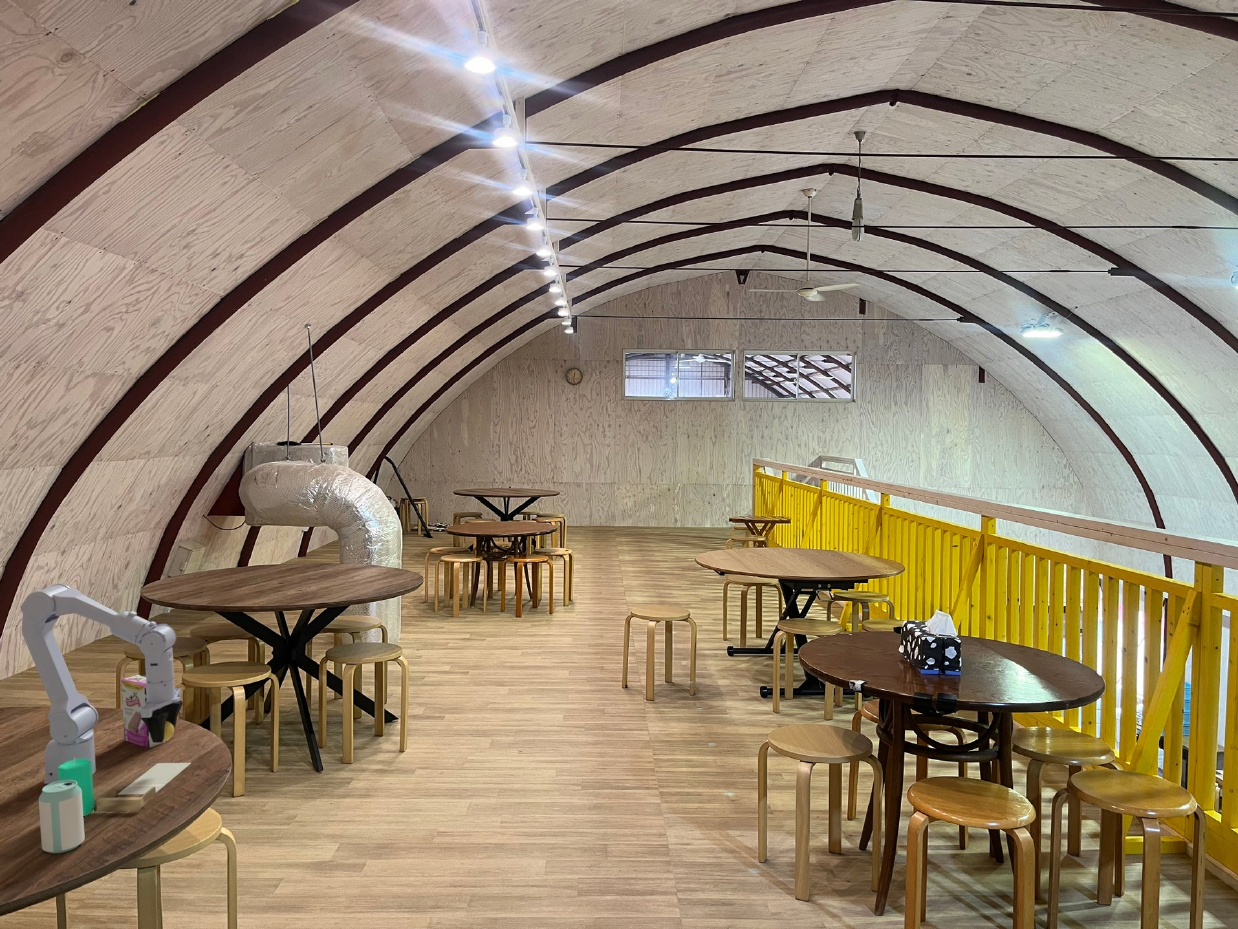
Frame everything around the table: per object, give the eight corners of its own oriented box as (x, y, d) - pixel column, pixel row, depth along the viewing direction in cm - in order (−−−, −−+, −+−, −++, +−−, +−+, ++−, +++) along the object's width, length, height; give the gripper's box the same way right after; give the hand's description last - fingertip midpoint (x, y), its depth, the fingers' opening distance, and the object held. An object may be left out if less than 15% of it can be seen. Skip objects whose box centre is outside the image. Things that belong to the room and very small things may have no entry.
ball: (149, 744, 209) (148, 725, 209) (159, 737, 214) (157, 718, 214) (168, 744, 209) (167, 725, 209) (178, 737, 214) (177, 718, 214)
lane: (103, 809, 194) (102, 805, 194) (157, 766, 217) (157, 763, 216) (141, 808, 194) (140, 805, 194) (191, 766, 216) (191, 762, 216)
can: (50, 840, 181) (46, 780, 180) (89, 835, 182) (86, 776, 181) (36, 857, 174) (32, 795, 173) (77, 852, 175) (73, 791, 175)
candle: (70, 822, 189) (67, 764, 188) (55, 815, 192) (51, 759, 191) (100, 810, 194) (96, 754, 193) (84, 804, 197) (81, 749, 196)
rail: (97, 812, 193) (96, 800, 193) (113, 799, 199) (112, 787, 199) (140, 811, 193) (140, 799, 193) (156, 798, 199) (155, 787, 199)
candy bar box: (123, 743, 232) (119, 679, 231) (142, 737, 236) (138, 673, 235) (148, 751, 226) (144, 685, 225) (168, 745, 230) (164, 680, 229)
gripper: (162, 689, 203) (165, 749, 204) (192, 669, 218) (195, 726, 219) (129, 689, 203) (133, 750, 204) (162, 670, 218) (165, 726, 219)
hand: (163, 738), depth 212 cm, fingers closed on ball, 4 cm apart
